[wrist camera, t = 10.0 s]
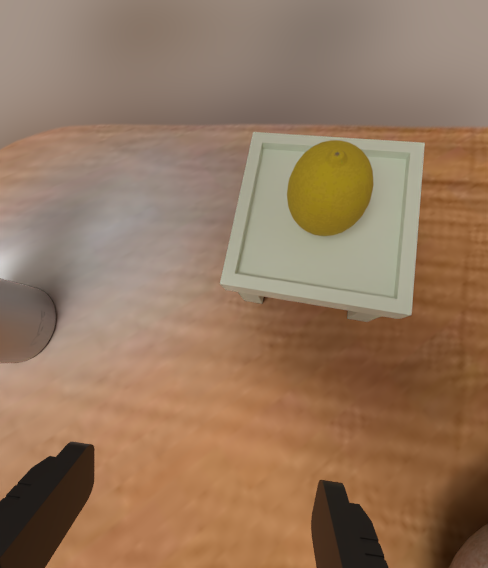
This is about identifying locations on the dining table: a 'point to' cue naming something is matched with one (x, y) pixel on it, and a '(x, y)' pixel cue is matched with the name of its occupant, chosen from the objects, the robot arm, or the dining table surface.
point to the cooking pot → (473, 551)
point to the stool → (327, 249)
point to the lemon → (330, 188)
